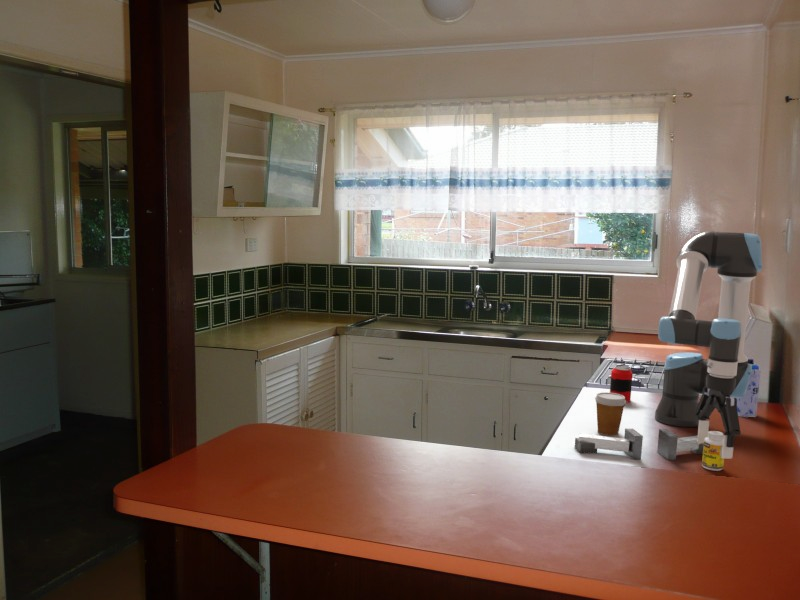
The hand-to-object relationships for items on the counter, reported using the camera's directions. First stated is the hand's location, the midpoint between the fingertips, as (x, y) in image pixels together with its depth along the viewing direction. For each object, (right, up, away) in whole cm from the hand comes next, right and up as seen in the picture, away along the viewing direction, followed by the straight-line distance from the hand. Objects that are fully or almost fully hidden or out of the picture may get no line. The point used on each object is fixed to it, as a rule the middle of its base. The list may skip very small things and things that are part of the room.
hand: (714, 450), depth 214 cm
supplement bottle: (0, -5, +1) cm, 5 cm away
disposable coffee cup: (-21, -1, +31) cm, 37 cm away
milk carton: (+35, +1, +60) cm, 69 cm away
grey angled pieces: (-15, -3, +11) cm, 19 cm away
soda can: (-5, +4, +73) cm, 73 cm away
